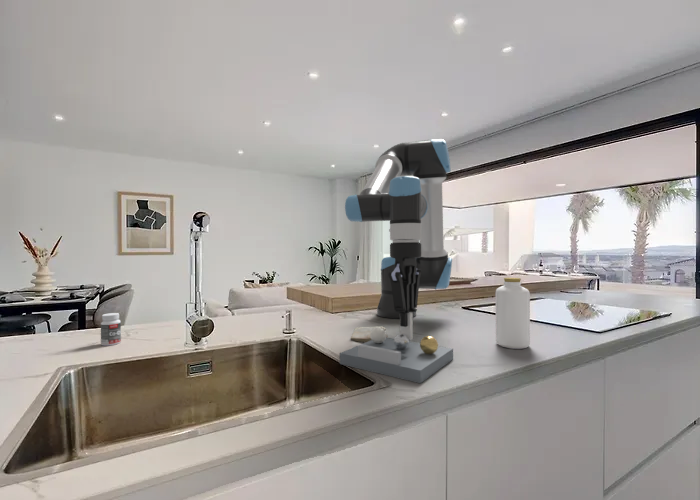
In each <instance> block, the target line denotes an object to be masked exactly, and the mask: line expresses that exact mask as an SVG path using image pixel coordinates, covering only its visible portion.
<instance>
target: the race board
mask: <svg viewBox="0 0 700 500" xmlns="http://www.w3.org/2000/svg"><path fill="white" fill-rule="evenodd" d="M453 359H454V348H452V347H446V346H441V345H440V346H439V345H438V349H437V351H436V352H435V353H433V354H426V353H424V352H423V351H422V350H421V348H420V342H417V341H416V342H415V341H412V340H409V344H408V346H407V347H406V348H405V349H399V348H397V347H396V346H395V344H394V338H391V337H388V338H387V337H386V339H385V341H384V342H382V343H379V344H378V343H375V342H373V341H372V340H371V341H368V342H366V343H365V342H362V343H361V344H358V345H356V346H354V347H351V348H349V349H346V350H343V351H342V352H339V364H340V365H343V366H347V367H351V368H356V369H359V370H363V371H368V372H371V373H376V374H381V375H385V376H388V377H393V378H396V379H397V378H398V379H402V380H404V381H405V380H406V381H411V382H413V383H418V384H421V383H423V382H424V381H426V380H427V379H428V378H429V377H431V376H433V374H435V373H437V372H438V371H439V370H440V369H442V368H443V367H444V366H446V365H448V364H449V363H450V362H451V361H452V360H453Z"/></svg>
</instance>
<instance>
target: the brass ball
mask: <svg viewBox="0 0 700 500" xmlns="http://www.w3.org/2000/svg"><path fill="white" fill-rule="evenodd" d="M419 343H420V348H421V350H422V351H423V352H424V353H426V354H433V353H435V352H436V351H437V349H438V346H439V342H438V341H437V339H436V337H434V336H432V335H426V336H424V337H423V338H421V339H420V342H419Z"/></svg>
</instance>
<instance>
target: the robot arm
mask: <svg viewBox="0 0 700 500" xmlns="http://www.w3.org/2000/svg"><path fill="white" fill-rule="evenodd" d="M450 160H451V159H450V153H449V149H448V145H447V142H446V141H445V140H444V139H442V138H439V139H437V138H436V139H435V138H434V139H431V138H430V139H425V140H418V141H417V140H416V141H407V142H406V141H405V142H401V143H398V144H396V145H393V146H391V147H390V148H388V149H387V150H385V151H384V152H383V153H382V154H381V155H380V156H379V157H378V158H377V160H376V162H375V165H374V167H375V169H374V171H373V172H372V173H371V176H370V177H369V179H367V180H368V181H366V183H365V185H364V187H363V188H362V190H361V192H360V193H359V194H352V195H349V196H347V197H346V199H345V203H344V211H345V212H344V213H345V215H346V218H347V220H348V221H350V222H357V223H358V222H360V223H363V222H364V223H365V222H384V221H386V222H387V221H389V229H388V232H389V240H390V241H392V242H391V243H390V244H389V256H386V257H383V258H382V259H381V265H380V278H381V279H380V280H381V281H380V282H381V284H380V286H381V288H380V291H381V292H380V297H379V301H378V305H377V308H376V315H377V316H379V317H382V318H387V319H399V334H404V335H406V336H407V338H408V340H409V341H412V340H414V339H413V338H414V337H413V336H414V334H413V333H414V328H413V327H414V325H413V319H414V317H416V315H417V311H418V309H417V307H418V299H419V291H420V290H419V289H424V290H425V289H426V290H427V289H428V290H445V289H447V288H448V287H449V285H450V281H451V275H452V267H453V258H452V257H449V252H447V251H446V249H444V212H443V211H444V210H443V209H444V208H443V207H444V205H443V183H444V181H445V180H446V179H447V174H449V173H450V172H451V170H452V169H451V161H450Z"/></svg>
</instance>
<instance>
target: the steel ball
mask: <svg viewBox="0 0 700 500" xmlns="http://www.w3.org/2000/svg"><path fill="white" fill-rule="evenodd" d="M393 339H394V344H395V346H396V347H397V348H399V349H405V348H406V347H407V346H408V344H409V341H410V340H408V338H407V336H406V335H404V334H400V333H398V334H396V336H395V337H394V338H393Z"/></svg>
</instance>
